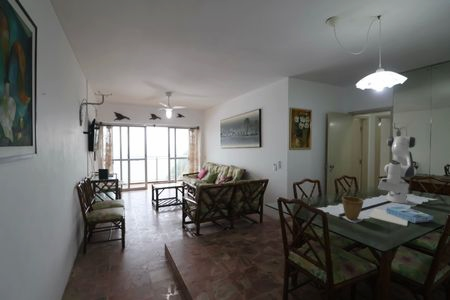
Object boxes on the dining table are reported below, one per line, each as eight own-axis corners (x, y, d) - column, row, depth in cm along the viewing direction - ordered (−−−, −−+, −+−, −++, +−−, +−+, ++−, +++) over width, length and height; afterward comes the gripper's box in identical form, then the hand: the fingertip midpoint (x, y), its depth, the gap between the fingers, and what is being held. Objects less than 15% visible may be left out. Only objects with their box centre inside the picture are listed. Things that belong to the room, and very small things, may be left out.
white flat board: (374, 209, 197) (375, 208, 197) (408, 216, 181) (409, 215, 181) (369, 217, 177) (369, 216, 177) (406, 226, 160) (406, 225, 160)
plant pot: (342, 213, 184) (344, 195, 182) (363, 218, 174) (364, 199, 173) (339, 218, 172) (340, 199, 171) (360, 223, 163) (362, 203, 161)
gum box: (385, 212, 187) (415, 223, 165) (386, 206, 186) (415, 217, 164) (402, 211, 192) (432, 222, 170) (403, 205, 191) (433, 215, 169)
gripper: (409, 182, 177) (408, 198, 178) (379, 178, 191) (378, 193, 192) (409, 183, 172) (407, 200, 173) (378, 179, 186) (377, 194, 187)
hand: (392, 196), depth 183 cm, fingers closed
